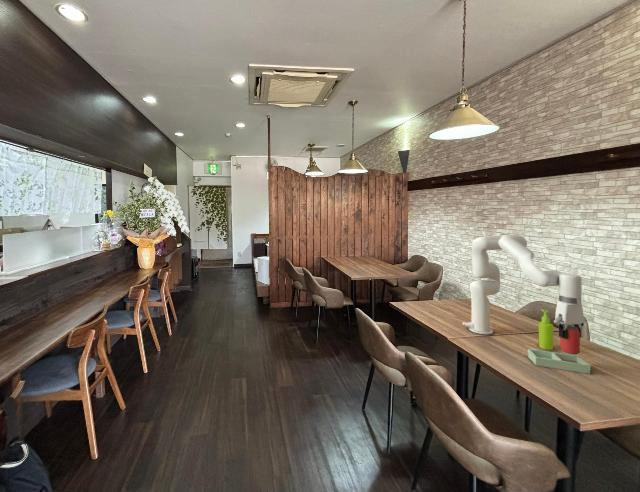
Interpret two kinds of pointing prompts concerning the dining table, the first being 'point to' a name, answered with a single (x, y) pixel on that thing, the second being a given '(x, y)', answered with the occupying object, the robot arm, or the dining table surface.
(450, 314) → the dining table surface
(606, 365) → the dining table surface
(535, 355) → the divided tray
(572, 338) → the beer can
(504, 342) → the dining table surface
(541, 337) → the soap dispenser
